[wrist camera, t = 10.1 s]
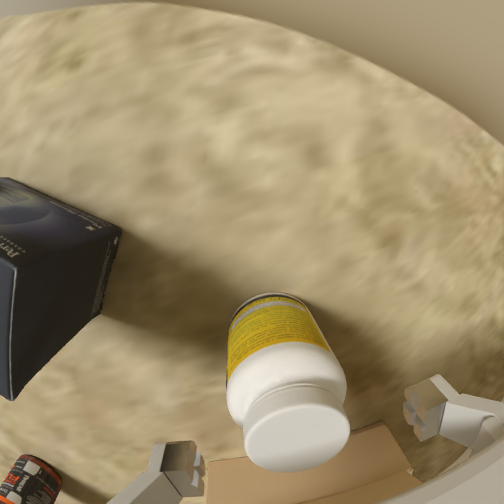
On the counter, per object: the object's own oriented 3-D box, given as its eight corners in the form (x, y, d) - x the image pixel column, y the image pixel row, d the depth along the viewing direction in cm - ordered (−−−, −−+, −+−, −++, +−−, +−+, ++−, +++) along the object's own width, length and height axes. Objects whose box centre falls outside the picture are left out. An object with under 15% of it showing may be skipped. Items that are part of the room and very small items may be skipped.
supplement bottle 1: (26, 445, 21) (-16, 513, 10) (70, 478, 22) (39, 551, 11) (16, 460, 22) (-20, 519, 10) (55, 489, 23) (27, 552, 12)
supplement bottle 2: (210, 320, 19) (193, 432, 9) (285, 273, 18) (335, 357, 9) (257, 379, 20) (274, 495, 10) (326, 338, 20) (387, 439, 10)
